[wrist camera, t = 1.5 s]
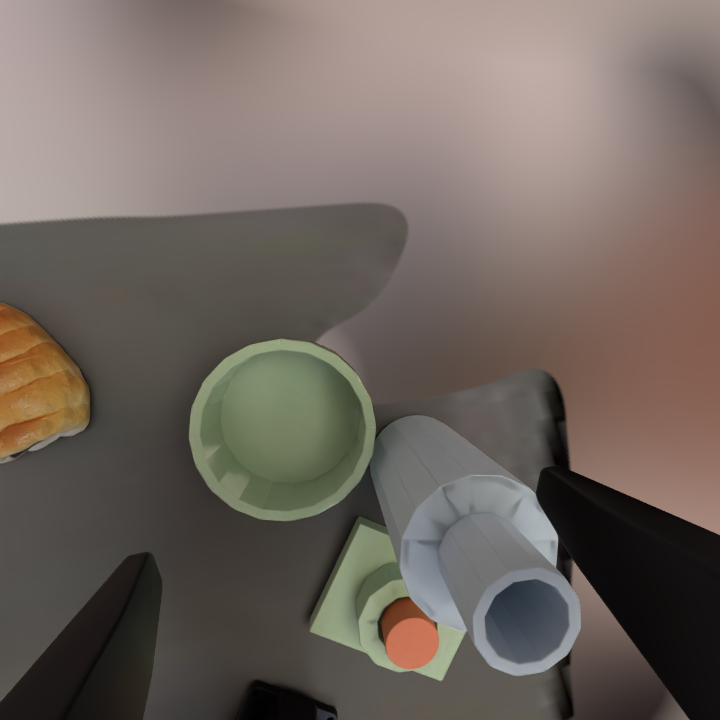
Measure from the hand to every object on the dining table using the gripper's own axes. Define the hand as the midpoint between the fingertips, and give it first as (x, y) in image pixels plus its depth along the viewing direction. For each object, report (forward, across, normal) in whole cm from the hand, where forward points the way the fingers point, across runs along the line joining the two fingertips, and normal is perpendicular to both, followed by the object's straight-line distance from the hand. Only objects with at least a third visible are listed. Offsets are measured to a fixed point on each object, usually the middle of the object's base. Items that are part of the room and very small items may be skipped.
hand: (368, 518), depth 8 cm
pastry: (+19, +17, +4) cm, 26 cm away
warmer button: (+8, -4, +18) cm, 20 cm away
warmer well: (+16, +1, +6) cm, 17 cm away
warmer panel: (+10, -5, +19) cm, 22 cm away
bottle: (+13, -7, +10) cm, 18 cm away
